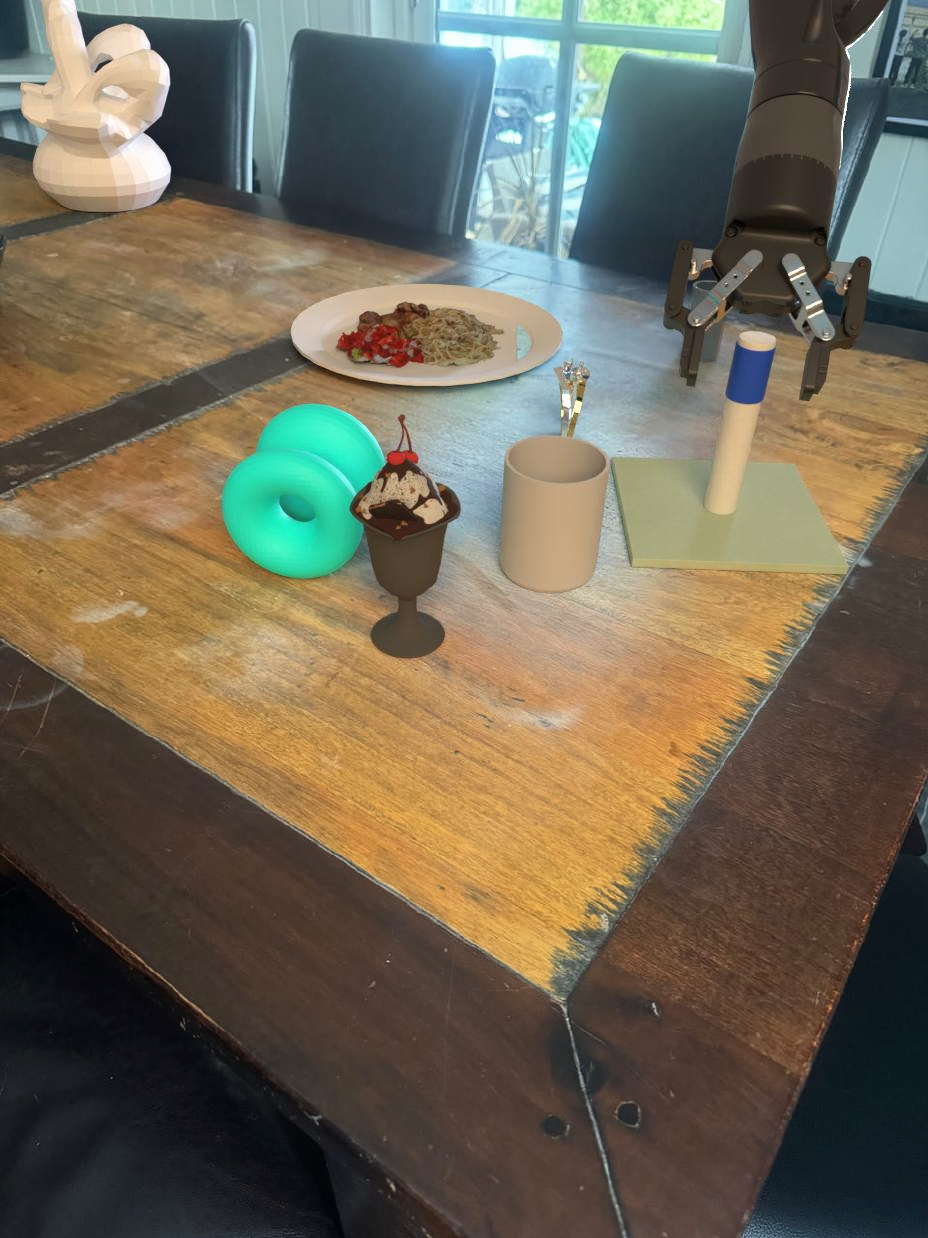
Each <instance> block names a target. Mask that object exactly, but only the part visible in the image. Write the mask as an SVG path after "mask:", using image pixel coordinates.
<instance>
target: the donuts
mask: <svg viewBox="0 0 928 1238" xmlns="http://www.w3.org/2000/svg"><path fill="white" fill-rule="evenodd" d="M385 465H386V460H385V455H384V453H383V451H382V448H381V446H380V444H379V442H378V441H377V439H376V438H375V435H373V433H372V432H371V431H370V430H369V429H368V427H367V426H366V425H365V424H364V423H362V422H361V421H360V420H359V419H357V418H356V417H355V416H353V415H352V414H350V413H349V412H347V411H345V410H342V409H339V408H338V407H334V406H331V405H325V404H321V403H303V404H298V405H295V406H291V407H289V408H286V409H284V410H282V411H281V412H279V413H277V414H276V415H275V416H273V418H271V419H270V420H269V421H268V423H267V424H266V425H265V426H264V428H263V429H262V431H261V433H260V434H259V438H258V441H257V444H256V450H255V452H254V453H252V454H250V455H248V456H247V457H246V458H243V460H241V461H240V462H239V463H238V464H237V465H236V466H235V467H234V468H233V469H232V470H231V472H230V474H229V475H228V476H227V478H226V480H225V482H224V486H223V490H222V494H221V513H222V519H223V522H224V525H225V527H226V530H227V532H228V534H229V536H230V538H231V540H232V541H233V542H234V544H235V545H236V547H237V548H238V549H239V550H240V551H241V552H242V553H243V555H245V556H246V557H247V559H250V560H251V561H252V562H253V563H254V564H256V565H257V566H259V567H261V568H263V569H264V570H267V571H269V572H271V573H273V574H276V575H279V576H283V577H285V578H286V577H287V578H290V579H301V580H302V579H303V580H306V579H315V578H319V577H324V576H327V575H329V574H332V573H334V572H336V571H338V570H339V569H341V568H342V567H343V566H345V565H346V564H347V563H349V561H350V560H351V559H352V558H353V556H354V555H355V553H356V551H357V550H358V548H359V546H360V544H361V541H362V538H363V533H364V527H363V524H362V523H361V522H360V521H358V520H357V519H356V518H354V516H353V515H352V514H351V512H350V510H349V509H350V504H351V502H352V500H353V498H354V497H355V495H356V494H357V493H358V492H359V491H360V490H361V489H362V488H363V487H365V486H366V485H367V484H368V483H369V482H371V481H373V479H374V477H375V475H376V473H377V472H378V471H379V470H380V469H381V468H382V467H383V466H385Z"/></svg>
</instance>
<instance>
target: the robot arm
mask: <svg viewBox="0 0 928 1238" xmlns="http://www.w3.org/2000/svg"><path fill="white" fill-rule="evenodd" d="M747 2H748V22H749V23H748V24H749V37H750V38H749V39H750V52H751V59H752V67H753V82H752V86H751V91H750V94H749V95H750V96H749V102H748V108H747V113H746V118H745V124H744V127H743V130H742V131H743V132H742V135H741V137H740V141H739V143H738V147H737V151H736V156H735V161H734V166H733V169H732V173H731V177H730V178H731V183H730V188H729V195H728V200H727V206H726V212H725V217H724V222H723V229H722V234H721V239H720V241H719V243H718V245H716V247H715V248H714V249H707V248H699V247H695V246H694V243H693V241H692V240H691V239H688V238H687V239H682V240H680V241H679V242H678V243H677V245H676V250H675V254H674V259H673V264H672V269H671V274H670V278H669V279H670V280H669V284H668V289H667V293H666V298H665V302H664V310H663V318H662V325H663V326H664V328H665V329H666V330H669V331H672V330H675V331H677V332H679V333H680V334H681V335H682V337H683V338H684V342H683V341H682V344H683V348H682V347H681V350H682V353H681V352H680V360H679V364H678V374H679V378H683V379H686V381H685V387H692V388H695V387H696V384H697V378H698V373H699V367H700V363H701V362H700V357H701V351H702V345H703V340H704V334H705V332H706V331H707V330H708V329H709V328H710V327H711V326H712V325H713V324H714V323H717V322H719V321H720V320H721V319H722V318H723V317H724V316H725V315H726V314H727V315H728V313H730V311H731V310H732V309H735V310H737V311H738V314H740V315H756V314H762V315H765V316H767V317H771V318H778V319H782V318H783V316H785V315H788V317H789V318H790V320H791V322H792V324H793V326H794V327H795V329H796V331H798V332H799V333H801V334H802V337H803V338H804V340H805V342H806V343H807V345H808V350H807V352H806V354H805V360H804V365H803V371H802V372H803V373H802V378H801V384H800V390H799V396H798V400H799V401H802V402H810V401H811V399H812V397H813V396H814V395H819V393H820V391H821V390H822V389H823V387H824V385H825V384H826V380H827V376H828V369H829V364H830V359H831V358H830V357H831V352H832V351H835V350H838V349H839V350H840V349H841V350H846V351H847V350H850V349H852V348H853V347H854V346H855V344H856V342H857V339H858V338H859V336H860V335H861V333H862V332H863V329H864V324H865V316H866V309H867V303H868V295H869V288H870V279H871V273H872V265H873V264H872V260H871V258H870V257H868V256H864V255H861V256H858V257H857V258H855V259H854V261H853V262H850V261H849V262H848V261H837V260H832V259H831V257H830V254H829V251H828V241H829V237H830V235H829V234H830V230H831V223H832V217H833V212H834V206H835V200H836V199H835V198H836V194H837V188H838V180H839V175H840V168H841V163H842V155H843V129H844V123H845V122H844V121H845V116H846V111H847V103H848V97H849V91H850V86H851V74H852V72H851V71H852V69H851V67H852V66H851V60H850V55H849V53H848V50H847V49H849V48H850V47H852V46H853V45H854V44H855V43H856V42H858V41H859V40H860V39H861V38H863V36H864V35H865V34H866V33H867V32H868V31H869V30H871V28H872V26H874V24H875V23H876V21H877V20H878V19H879V17H880V16H881V15H882V13H883V12H884V10H885V8H886V7H887V5H888V3H889V2H890V0H747ZM706 268H710V271H711V273H712V276H713V277H714V279H715V281H717V282H718V284H716V285H715V286H714V287H713V288H712V290H711V291H710V292H709V294H708V295H707V297H706V298H705V299H704V300H703V301H702V302H701V303H700V304H699V305H698V306H697V307H696V308H695V309H694V310H693V311H691V310H689V308H687V307H685V306H684V302H685V298H686V297H685V296H686V293H687V288H688V282H689V281H694V280H696V279H698V277H700V275H701V273H702V271H703V270H705V269H706ZM826 280H830V281H831V282H832V283H833V284H834V290H835V292H836V294H837V295H839V296H843V297H842V305H841V311H840V319H839V324H836V325H835V324H834V325H833V323H832V321H831V319H830V318H829V317H828V315H827V313H826V311H825V309H824V303H823V300H822V297H821V296H820V295H819V293H818V291H817V290H818V288H820V287H821V286H822V285H823V284H824V283H825V282H826ZM727 315H726V316H727Z"/></svg>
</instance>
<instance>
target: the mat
mask: <svg viewBox="0 0 928 1238" xmlns="http://www.w3.org/2000/svg"><path fill="white" fill-rule="evenodd" d="M712 461H713V460H709V459H706V460H705V459H683V458H681V459H680V458H679V459H678V458H677V459H676V458H655V457H654V458H651V457H649V458H648V457H625V456H624V457H623V456H620V457H618V456H612V457H611V461H610V467H611V470H612V476H613V481H614V486H615V490H616V495H617V500H618V505H619V510H620V515H621V521H622V526H623V530H624V531H623V532H624V535H625V540H626V545H627V546H626V547H627V551H628V555H629V556H628V557H629V560H630V565H631V567H632V568H653V569H655V568H656V569H678V570H679V569H680V570H707V571H708V570H709V571H731V572H734V571H736V572H761V573H786V574H787V573H788V574H789V573H792V574H818V575H819V574H820V575H847V574H848V571H849V569H850V566H849V564H848V561H847V560H846V558H845V555H844V554H843V551H842V550H841V548H840V547H839V545H838V543H837V541H836V538H835V537H834V535H833V533H832V531H831V529H830V528H829V525H828V524H827V521H826V520H825V518H824V517H823V514H822V512H821V511H820V509H819V506H818V505H817V503H816V501H815V500H814V498H813V496H812V494H811V492H810V490H809V488H808V486H807V484H806V482H805V481H804V479H803V477H802V475H801V473H800V471H799V469H798V467H797V465H796V464H795V463H793V462H790V463H789V462H770V461H769V462H767V461H765V462H763V461H747V465H746V470H745V474H744V478H743V482H742V486H741V491H740V495H739V499H738V503H737V507H736V510H735V512H733V513H732V514H728V515H720V514H715V513H712V512H710V511H708V510H707V509H705V507H704V505H703V503H704V499H705V494H706V489H707V484H708V480H709V475H710V470H711V465H712Z"/></svg>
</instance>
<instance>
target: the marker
mask: <svg viewBox="0 0 928 1238" xmlns="http://www.w3.org/2000/svg"><path fill="white" fill-rule="evenodd" d="M776 343H777V338H776V337H775V336H774V335H773V334H770V333H767V332H763V331H757V330H749V331H743V332H740V333H739V335H738V338H737V340H736V341H735V345H734V350H733V354H732V359H731V365H730V369H729V374H728V379H727V384H726V387H725V398H724V399H725V400H724V404H723V408H722V414H721V418H720V423H719V428H718V432H717V437H716V443H715V446H714V451H713V456H712V460H711V461H712V465H711V470H710V475H709V480H708V484H707V489H706V494H705V499H704V503H703V505H704V507H705V509H707V510H708V511H710V512H712V513H715V514H720V515H728V514H732V513H733V512H735V510H736V507H737V503H738V499H739V495H740V491H741V486H742V482H743V478H744V474H745V470H746V465H747V462H749V461H748V460H749V456H750V454H751V453H750V452H751V448H752V444H753V439H754V436H755V431H756V427H757V423H758V419H759V414H760V411H761V407H762V403H763V401H764V400H765V395H766V391H767V388H768V383H769V378H770V374H771V369H772V365H773V362H774V359H775V358H774V357H775V353H776V350H777V346H776Z"/></svg>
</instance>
